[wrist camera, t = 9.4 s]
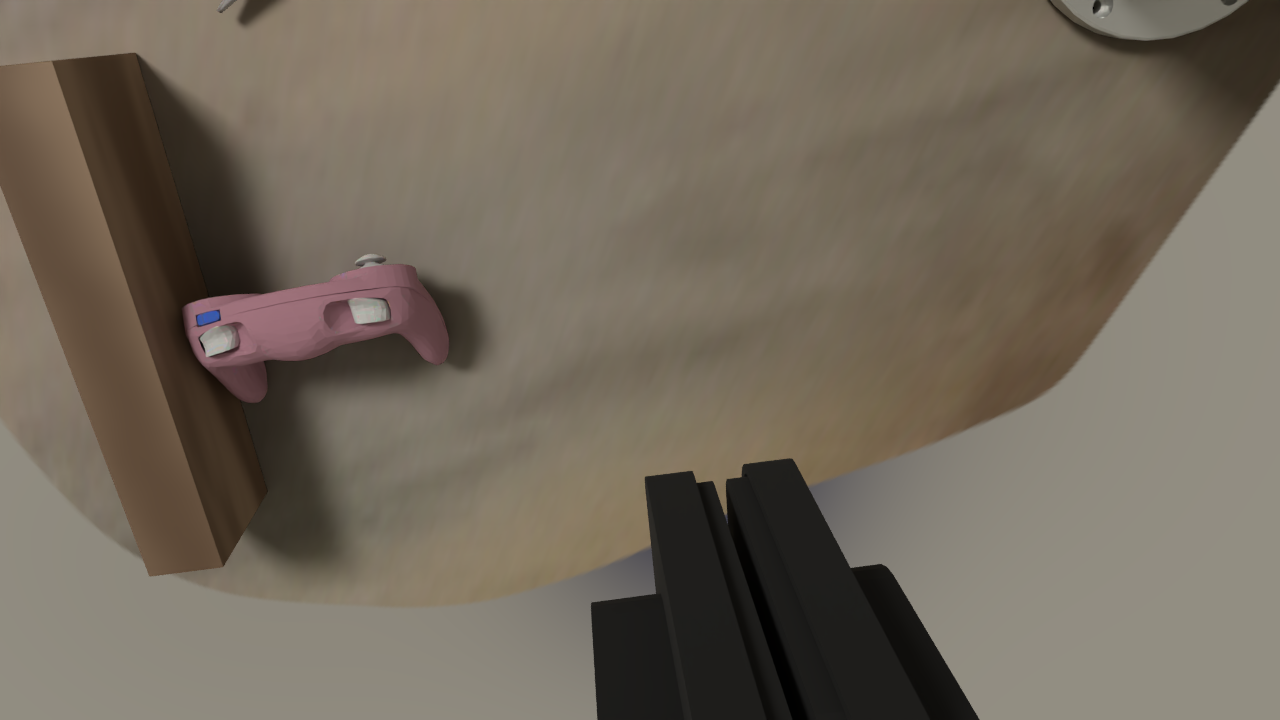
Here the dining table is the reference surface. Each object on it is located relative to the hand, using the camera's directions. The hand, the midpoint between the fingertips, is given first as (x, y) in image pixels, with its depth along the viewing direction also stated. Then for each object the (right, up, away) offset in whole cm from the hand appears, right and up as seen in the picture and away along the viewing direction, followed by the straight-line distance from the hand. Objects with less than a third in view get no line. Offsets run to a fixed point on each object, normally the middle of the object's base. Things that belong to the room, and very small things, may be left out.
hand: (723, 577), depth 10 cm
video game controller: (-15, +5, +28) cm, 32 cm away
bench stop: (-21, +5, +27) cm, 35 cm away
